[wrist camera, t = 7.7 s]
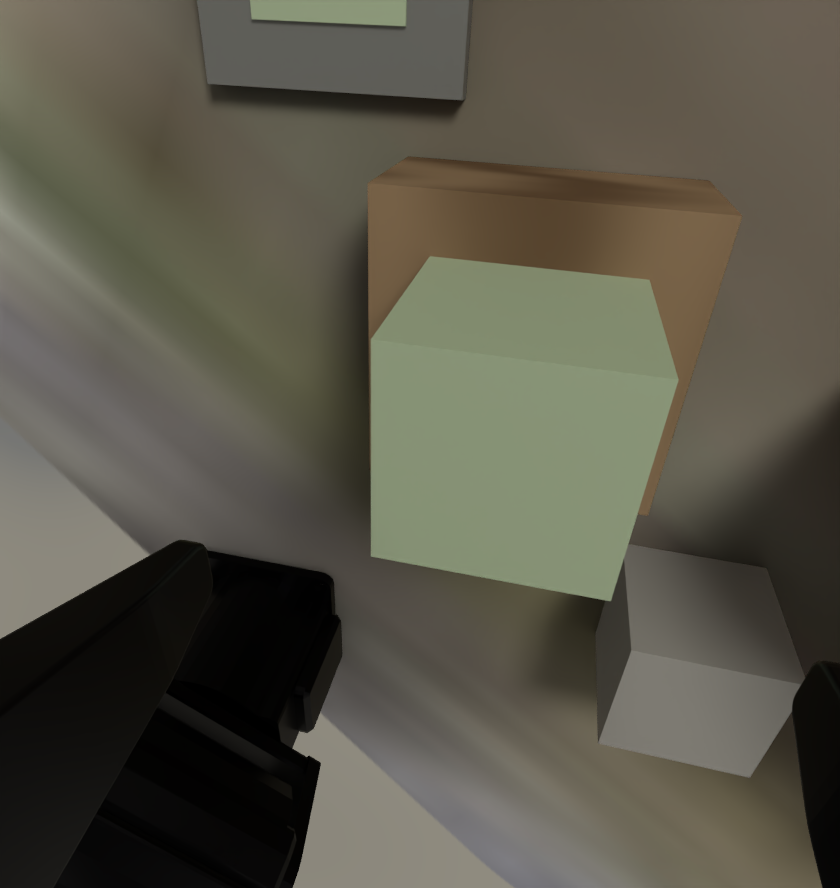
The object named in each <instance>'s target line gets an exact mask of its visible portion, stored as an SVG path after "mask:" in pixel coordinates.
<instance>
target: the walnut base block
mask: <svg viewBox="0 0 840 888" xmlns="http://www.w3.org/2000/svg"><path fill="white" fill-rule="evenodd" d="M741 219H742V215H741V214H740V213H739V212H738V211H737V210H736V209H735V208H734V207H733V206H732V204H731V203H730V202H729V201H728V200H727V199H726V198H725V197H724V196H723V195H722V194H721V193H720V192H719V191H718V190H717V188H716V187H715V186H714V185H713V184H712V183H711V182H710V181H706V180H694V179H681V178H669V177H656V176H644V175H631V174H619V173H607V172H594V171H582V170H569V169H557V168H544V167H532V166H519V165H507V164H494V163H482V162H470V161H457V160H445V159H432V158H420V157H407V158H405V159H404V160H402V161H401V162H399V163H398V164H396V165H395V166H393V167H392V168H390V169H389V170H387V171H385V172H384V173H382V174H381V175H379V176H378V177H376V178H375V179H373V180H372V181H370V182H369V183H368V316H369V470H371V338H372V337H373V336H374V334H375V333H376V331H377V330H378V329H379V327H380V326H381V324H382V323H383V321H384V320H385V319H386V317H387V316H388V314H389V313H390V312H391V310H392V309H393V307H394V306H395V305H396V303H397V302H398V300H399V299H400V298H401V296H402V295H403V293H404V292H405V290H406V289H407V288H408V286H409V285H410V283H411V282H412V281H413V279H414V278H415V276H416V275H417V274H418V272H419V271H420V269H421V268H422V267H423V265H424V264H425V262H426V261H427V259H428V258H429V257H430V256H433V257H442V258H452V259H461V260H470V261H480V262H489V263H498V264H507V265H517V266H526V267H535V268H544V269H554V270H563V271H572V272H582V273H591V274H600V275H609V276H619V277H628V278H637V279H647V280H650V283H651V287H652V290H653V294H654V297H655V300H656V304H657V307H658V311H659V314H660V318H661V321H662V324H663V328H664V331H665V335H666V338H667V342H668V345H669V348H670V352H671V355H672V359H673V362H674V366H675V369H676V372H677V376H678V379H679V380H678V383H677V387H676V390H675V393H674V397H673V400H672V403H671V406H670V410H669V413H668V416H667V419H666V423H665V426H664V429H663V432H662V436H661V439H660V442H659V446H658V449H657V452H656V455H655V459H654V462H653V465H652V468H651V472H650V475H649V478H648V481H647V485H646V488H645V491H644V494H643V498H642V501H641V504H640V508H639V511H638V514H640V515H646V516H648V514H649V510H650V507H651V504H652V501H653V498H654V495H655V491H656V488H657V485H658V482H659V479H660V476H661V472H662V469H663V466H664V463H665V460H666V457H667V453H668V450H669V447H670V444H671V441H672V438H673V434H674V431H675V428H676V425H677V422H678V418H679V415H680V412H681V409H682V406H683V403H684V399H685V396H686V393H687V390H688V387H689V384H690V380H691V377H692V374H693V371H694V368H695V365H696V361H697V358H698V355H699V352H700V349H701V346H702V342H703V339H704V336H705V333H706V330H707V327H708V323H709V320H710V317H711V314H712V311H713V308H714V304H715V301H716V298H717V295H718V292H719V289H720V285H721V282H722V279H723V276H724V273H725V270H726V266H727V263H728V260H729V257H730V254H731V251H732V247H733V244H734V241H735V238H736V235H737V232H738V228H739V225H740V222H741Z"/></svg>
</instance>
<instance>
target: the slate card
mask: <svg viewBox="0 0 840 888" xmlns="http://www.w3.org/2000/svg"><path fill="white" fill-rule="evenodd" d="M472 4H473V0H197V5H198V12H199V20H200V28H201V36H202V44H203V51H204V59H205V67H206V75H207V83H208V84H218V85H233V86H249V87H264V88H280V89H295V90H310V91H326V92H341V93H357V94H372V95H388V96H403V97H418V98H434V99H449V100H464V99H466V88H467V74H468V60H469V46H470V32H471V18H472Z"/></svg>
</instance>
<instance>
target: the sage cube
mask: <svg viewBox="0 0 840 888" xmlns="http://www.w3.org/2000/svg"><path fill="white" fill-rule="evenodd" d="M678 380H679V379H678V376H677V372H676V369H675V366H674V362H673V359H672V355H671V352H670V348H669V345H668V342H667V338H666V335H665V331H664V328H663V324H662V321H661V318H660V314H659V311H658V307H657V304H656V300H655V297H654V294H653V290H652V287H651V283H650V280H647V279H637V278H628V277H619V276H609V275H600V274H591V273H582V272H572V271H563V270H554V269H544V268H535V267H526V266H517V265H507V264H498V263H489V262H480V261H470V260H461V259H452V258H442V257H433V256H430V257H429V258H428V259H427V261H426V262H425V264H424V265H423V267H422V268H421V269H420V271H419V272H418V274H417V275H416V276H415V278H414V279H413V281H412V282H411V283H410V285H409V286H408V288H407V289H406V290H405V292H404V293H403V295H402V296H401V298H400V299H399V300H398V302H397V303H396V305H395V306H394V307H393V309H392V310H391V312H390V313H389V314H388V316H387V317H386V319H385V320H384V321H383V323H382V324H381V326H380V327H379V329H378V330H377V331H376V333H375V334H374V336H373V337H372V338H371V557H376V558H382V559H387V560H392V561H398V562H403V563H408V564H414V565H419V566H424V567H430V568H435V569H440V570H446V571H451V572H456V573H462V574H467V575H472V576H478V577H483V578H488V579H494V580H499V581H504V582H510V583H515V584H520V585H526V586H531V587H536V588H542V589H547V590H553V591H558V592H563V593H569V594H574V595H579V596H585V597H590V598H595V599H601V600H606V601H611V599H612V596H613V592H614V589H615V586H616V583H617V579H618V576H619V573H620V570H621V566H622V563H623V560H624V556H625V553H626V550H627V547H628V543H629V540H630V537H631V534H632V530H633V527H634V524H635V521H636V517H637V514H638V511H639V508H640V504H641V501H642V498H643V494H644V491H645V488H646V485H647V481H648V478H649V475H650V472H651V468H652V465H653V462H654V459H655V455H656V452H657V449H658V446H659V442H660V439H661V436H662V432H663V429H664V426H665V423H666V419H667V416H668V413H669V410H670V406H671V403H672V400H673V397H674V393H675V390H676V387H677V383H678Z"/></svg>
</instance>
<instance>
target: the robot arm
mask: <svg viewBox="0 0 840 888" xmlns="http://www.w3.org/2000/svg"><path fill="white" fill-rule="evenodd" d="M322 584H323V585H322ZM341 657H342V634H341V620H340V618H339V617H338V615H335V596H334V582H333V579H332V578H331V577H330V576H329V575H327V574H325V573H321V572H316V571H311V570H306V569H301V568H295V567H290V566H285V565H280V564H275V563H269V562H264V561H259V560H254V559H249V558H243V557H238V556H233V555H228V554H223V553H217V552H212V551H207V549H206V547H205V546H204V545H203V544H201V543H197V542H192V541H186V540H178V541H175V542H173V543H171V544H169V545H168V546H166V547H164V548H162V549H161V550H159V551H157V552H155V553H153V554H152V555H150V556H148V557H146V558H145V559H143V560H141V561H139V562H137V563H135V564H134V565H132V566H130V567H128V568H127V569H125V570H123V571H121V572H119V573H118V574H116V575H114V576H112V577H110V578H109V579H107V580H105V581H103V582H102V583H100V584H98V585H96V586H94V587H92V588H91V589H89V590H87V591H85V592H84V593H82V594H80V595H78V596H77V597H75V598H73V599H71V600H69V601H67V602H66V603H64V604H62V605H60V606H58V607H57V608H55V609H53V610H51V611H50V612H48V613H46V614H44V615H42V616H41V617H39V618H37V619H35V620H34V621H32V622H30V623H28V624H26V625H24V626H23V627H21V628H19V629H17V630H15V631H14V632H12V633H10V634H8V635H6V636H5V637H3V638H1V639H0V888H293V885H294V882H295V879H296V876H297V873H298V871H299V867H300V862H301V859H302V854H303V849H304V844H305V839H306V834H307V829H308V825H309V819H310V814H311V810H312V805H313V800H314V795H315V790H316V785H317V780H318V775H319V770H320V765H321V763H320V762H319V761H317V760H315V759H314V758H312V757H310V756H308V757H305V756H304V755H302V754H300V753H299V752H297V751H295V750H294V749H292V747H293V745H294V742H295V740H296V738H297V735H298V733H299V731H301V732H305V733H308V732H309V731H311V730H312V729H313V728H314V727H315V724H316V721H317V719H318V716H319V714H320V711H321V709H322V706H323V703H324V701H325V698H326V696H327V693H328V691H329V688H330V686H331V683H332V680H333V678H334V675H335V673H336V670H337V668H338V665H339V662H340V660H341ZM792 715H793V723H794V730H795V738H796V745H797V753H798V761H799V768H800V776H801V783H802V791H803V798H804V806H805V812H806V818H807V824H808V829H809V834H810V838H811V843H812V847H813V851H814V855H815V859H816V863H817V868H818V872H819V876H820V880H821V884H822V888H840V664H839V663H834V662H828V661H818V662H816V663H814V665H813V666H812V667H811V669H810V671H809V672H808V674H807V676H806V677H805V679H804V680H803V682H802V684H801V685H800V687H799V689H798V690H797V692H796V694H795V696H794V699H793V703H792Z"/></svg>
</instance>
